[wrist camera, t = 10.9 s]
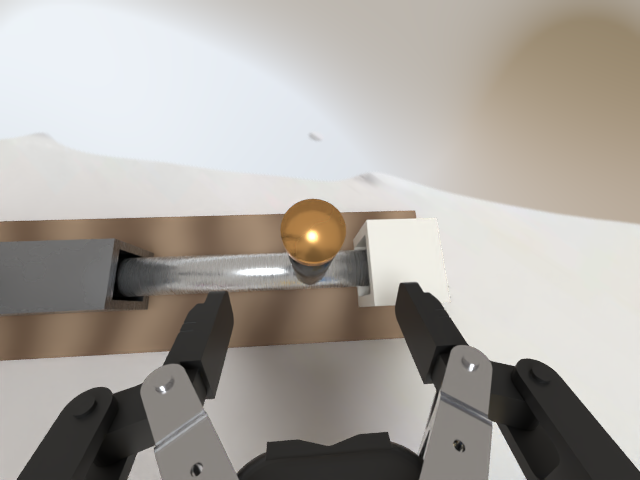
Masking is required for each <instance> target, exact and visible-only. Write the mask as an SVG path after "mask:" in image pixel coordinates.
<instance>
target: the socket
mask: <svg viewBox="0 0 640 480" xmlns="http://www.w3.org/2000/svg"><path fill="white" fill-rule="evenodd" d="M353 243H354V250H367V259H368V270H369V280H370V286H359V287H357V292H358V304H359V307H371V306H392V305H395V304H396V299H397V293H398V288H399V284H400V283H403V282H417V283H418V284H419V285H420V287H421V288H422V290H423V292H429V293H431V294H432V295H433V296H434V297H436V298H437V299H438V300H439V301H440V303H448V302H451V300H450V294H449V288H448V282H447V277H446V271H445V265H444V259H443V253H442V247H441V241H440V235H439V229H438V223H437V218H415V219H380V220H366V222H365V223H364V225H363V226H362V228H361V229H360V230H359V232H358V233H357V235H356V236H355V238H354V239H353Z"/></svg>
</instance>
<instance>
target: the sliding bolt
mask: <svg viewBox="0 0 640 480" xmlns="http://www.w3.org/2000/svg"><path fill="white" fill-rule="evenodd" d="M280 232H281V238H282V241H283V244H284V247H285V249H286V251H287V252H283V253H254V254H226V255H198V256H169V257H141V258H118V263H117V270H116V277H115V283H114V290H113V297H131V296H154V295H177V294H199V293H209V292H210V291H228V292H245V291H268V290H291V289H313V288H336V287H359V286H370V280H369V270H368V259H367V250H340V249H341V247H342V245H343V243H344V240H345V237H346V225H345V221H344V219H343V216H342V215H341V213H340V212H339V211H338V209H336V208H335V207H334V206H333V205H332V204H330V203H328V202H326V201H323V200H319V199H307V200H303V201H300V202H298V203H296V204H294V205H293V206H292V207H291V208H289V210H288V211H287V212H286V213H285V215H284V217H283V219H282V222H281V228H280ZM339 250H340V251H339Z"/></svg>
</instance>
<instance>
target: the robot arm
mask: <svg viewBox="0 0 640 480" xmlns="http://www.w3.org/2000/svg"><path fill="white" fill-rule="evenodd" d="M395 315H396V319H397V322H398V324H399V326H400V329H401V331H402V333H403V336H404V338H405V340H406V343H407V345H408V348H409V350H410V352H411V355H412V357H413V359H414V362H415V364H416V366H417V369H418V371H419V374H420V376H421V378H422V381H423V383H424V384H432V383H433V384H434V386H435V388H436V392H435V395H434V399H433V403H432V406H431V410H430V413H429V417H428V421H427V424H426V428H425V432H424V435H423V438H422V441H421V444H420V447H419V451H418V454H416V453H414V452H413V451H411V450H410V449H408V448H406V447H404V446H402V445H399V444H397V443H394V442H390V439H389V435H388V432H381V433H369V434H359V435H356V436H354V437H351V438H349V439H346V440H344V441H342V442H339V443H337V444H334V445H332V446H324V445H320V444H315V443H311V442H306V441H302V440H287V441H275V442H267V452H266V453H263V454H261V455H259V456H257V457H256V458H254V459H253V460H251V461H250V462H248V463H247V464H246V465H245V466H244V467H243V468H242V469H241V470H240V471H239V472H238V473H237V474H236V472H235V470H234V468H233V466H232V464H231V462H230V460H229V458H228V456H227V454H226V452H225V450H224V448H223V446H222V444H221V442H220V439H219V437H218V435H217V433H216V431H215V429H214V427H213V425H212V423H211V421H210V419H209V417H208V415H207V413H206V412H205V410H204V408H203V405H204V402H205V399H215V395H216V391H217V387H218V383H219V380H220V376H221V372H222V368H223V364H224V361H225V357H226V353H227V349H228V345H229V342H230V338H231V334H232V330H233V325H234V315H233V311H232V306H231V302H230V297H229V293H228V291H210V292H209V293H208V295H207V298H206V300H205V302H204V303H198V304H196V305H195V306H194V307H193V308H192V309H191V310H190V311H189V312H188V314H187V316H186V318H185V321H184V324H183V325H182V327H181V329H180V333H178V335H177V337H176V339H175V342H174V344H173V346H172V348H171V350H170V352H169V354H168V356H167V358H166V360H165V362H164V364H163V366H162V367H160V368H158V369H156V370H155V371H153V372H152V373H151V374H150V375H149V376H148V377H147V378H146V379H145V381H144V382H143V383H142V384H140V385H137V386H135V387H132V388H129V389H126V390H123V391H120V392H117V393H115V394H113V393H112V392H111V391H110V390H109V389H108V388H106V387H97V388H93V389H90V390H87V391H85V392H83V393H81V394H80V395H78V396H77V397H75V398H74V399H73V400H72V401H71V402H69V403H68V404H67V405H66V407H65V408H64V409H63V410H62V412H61V413H60V415H59V416H58V418H57V419H56V421H55V422H54V424H53V425H52V427H51V428H50V430H49V431H48V433H47V434H46V436H45V437H44V439H43V440H42V442H41V443H40V445H39V446H38V448H37V449H36V451H35V452H34V454H33V456H32V457H31V459H30V460H29V462H28V463H27V465H26V466H25V468H24V469H23V471H22V472H21V474H20V475H19V477H18V478H17V480H127V478H128V476H129V473H130V471H131V468H132V465H133V463H134V460H135V457H136V455H137V453H138V452H140V451H142V450H145V449H147V448H149V447H152V446H154V445H156V447H155V448H154V452H155V457H156V460H157V464H158V467H159V471H160V474H161V478H162V480H488V473H489V461H490V449H491V437H492V421H493V422H496V423H497V425H498V427H499V428H500V430H501V432H502V434H503V436H504V438H505V440H506V442H507V443H508V445H509V447H510V449H511V451H512V453H513V455H514V457H515V458H516V460H517V462H518V464H519V466H520V468H521V470H522V472H523V473H524V475H525V477H526V479H527V480H640V471H639V470H638V469H637V468H636V467H635V465H634V464H633V463H632V462H631V461H630V459H629V458H628V457H627V456H626V455H625V453H624V452H623V451H622V450H621V449H620V447H619V446H618V445H617V444H616V443H615V442H614V440H613V439H612V438H611V437H610V436H609V434H608V433H607V432H606V431H605V430H604V428H603V427H602V426H601V425H600V424H599V422H598V421H597V420H596V419H595V418H594V416H593V415H592V414H591V413H590V412H589V410H588V409H587V408H586V407H585V406H584V404H583V403H582V402H581V401H580V400H579V398H578V397H577V396H576V395H575V394H574V392H573V391H572V390H571V389H570V388H569V386H568V385H567V384H566V383H565V382H564V380H563V379H562V378H561V377H560V376H559V375H558V374H557V373H556V372H555V371H554V370H553V369H552V368H550V367H549V366H547V365H546V364H544V363H542V362H540V361H537V360H534V359H521V360H520V361H518V363H517V364H516V366H511V365H506V364H502V363H497V362H493V361H490V360H489V359H488V358H487V357H486V356H485V355H484V354H483V353H482V352H481V351H479V350H477V349H476V348H473V347H471V346H469V345H468V344H467V343H466V341H465V339H464V338H463V336H462V335H461V333H460V332H459V330H458V329H457V327H456V326H455V324H454V323H453V321H452V320H451V318H449V315H448V314H447V312H446V311H445V310H444V307H443V306H442V304H441V303H440V301H439V300H438V299H437V298H436V297H434V296H433V295H432V294H431V293H429V292H423V290H422V288H421V287H420V285H419V284H418V283H417V282H403V283H400V284H399V288H398V293H397V299H396V304H395Z"/></svg>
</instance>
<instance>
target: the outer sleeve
mask: <svg viewBox="0 0 640 480" xmlns="http://www.w3.org/2000/svg"><path fill="white" fill-rule="evenodd" d="M141 257H154V253H152V252H149V251H147V250H144V249H142V248H139V247H136V246H134V245H131V244H128V243H126V242H123V241H120V240H118V239H115V238H111V239H79V240H46V241H14V242H0V317H1V316H22V315H44V314H65V313H86V312H108V311H129V310H148V303H149V296H131V297H113V290H114V283H115V277H116V270H117V263H118V258H141Z"/></svg>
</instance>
